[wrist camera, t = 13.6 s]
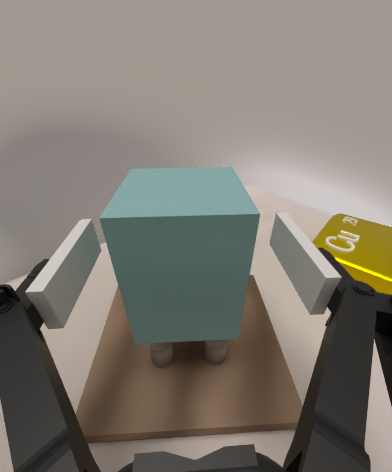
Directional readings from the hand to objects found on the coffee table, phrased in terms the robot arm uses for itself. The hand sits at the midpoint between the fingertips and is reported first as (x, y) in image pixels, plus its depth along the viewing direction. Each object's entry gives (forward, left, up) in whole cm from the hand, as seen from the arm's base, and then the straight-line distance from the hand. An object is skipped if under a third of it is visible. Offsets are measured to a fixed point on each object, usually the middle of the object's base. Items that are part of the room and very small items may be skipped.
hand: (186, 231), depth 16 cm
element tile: (+28, +11, -15) cm, 33 cm away
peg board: (0, 0, -14) cm, 14 cm away
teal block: (0, 0, -7) cm, 8 cm away
